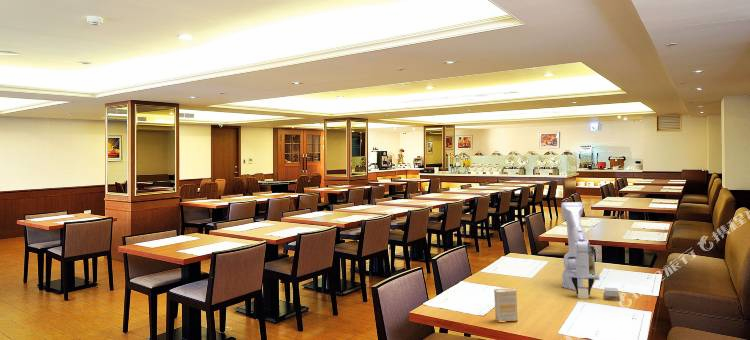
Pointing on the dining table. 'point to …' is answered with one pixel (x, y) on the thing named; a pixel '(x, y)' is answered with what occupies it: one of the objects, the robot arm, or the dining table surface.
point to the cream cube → (583, 292)
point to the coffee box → (591, 260)
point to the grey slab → (611, 292)
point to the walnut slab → (611, 298)
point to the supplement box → (505, 304)
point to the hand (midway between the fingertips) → (583, 294)
